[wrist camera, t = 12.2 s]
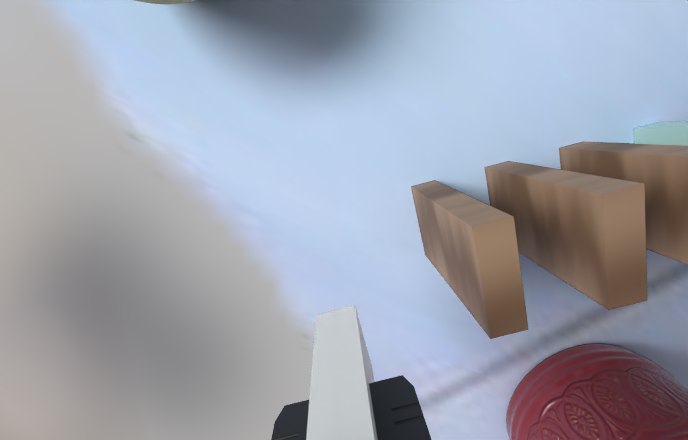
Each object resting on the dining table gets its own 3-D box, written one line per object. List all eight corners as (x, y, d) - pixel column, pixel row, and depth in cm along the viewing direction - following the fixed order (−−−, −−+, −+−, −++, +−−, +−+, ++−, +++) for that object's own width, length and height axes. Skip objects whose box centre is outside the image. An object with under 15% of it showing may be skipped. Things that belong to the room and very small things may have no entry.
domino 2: (484, 167, 22) (602, 194, 13) (508, 161, 22) (644, 183, 13) (495, 237, 24) (608, 310, 14) (517, 231, 24) (647, 300, 14)
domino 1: (411, 186, 22) (472, 227, 13) (434, 180, 22) (513, 216, 13) (425, 254, 24) (490, 338, 14) (447, 249, 24) (528, 329, 14)
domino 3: (559, 148, 22) (734, 160, 13) (583, 141, 22) (778, 149, 13) (565, 219, 24) (729, 280, 14) (588, 213, 23) (768, 270, 14)
